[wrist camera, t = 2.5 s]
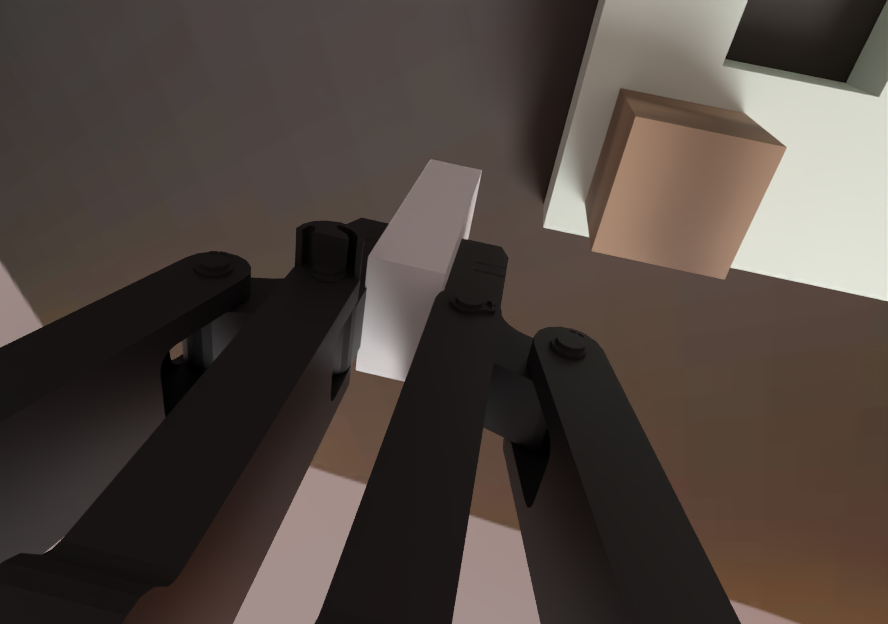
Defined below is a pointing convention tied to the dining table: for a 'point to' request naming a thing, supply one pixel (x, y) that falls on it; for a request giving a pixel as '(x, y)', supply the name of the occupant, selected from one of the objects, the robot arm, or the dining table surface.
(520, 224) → the dining table surface
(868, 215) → the tray
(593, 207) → the walnut block
